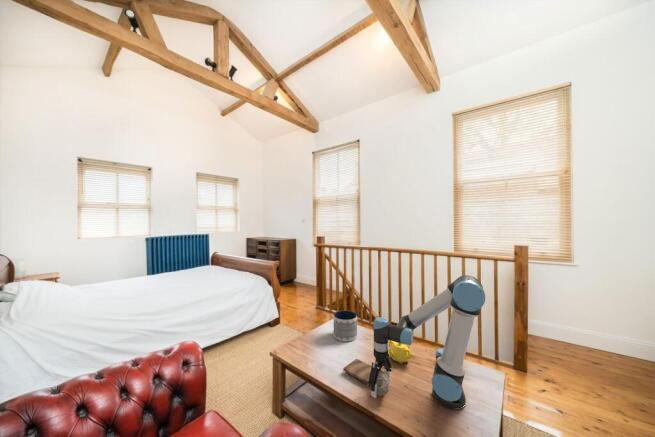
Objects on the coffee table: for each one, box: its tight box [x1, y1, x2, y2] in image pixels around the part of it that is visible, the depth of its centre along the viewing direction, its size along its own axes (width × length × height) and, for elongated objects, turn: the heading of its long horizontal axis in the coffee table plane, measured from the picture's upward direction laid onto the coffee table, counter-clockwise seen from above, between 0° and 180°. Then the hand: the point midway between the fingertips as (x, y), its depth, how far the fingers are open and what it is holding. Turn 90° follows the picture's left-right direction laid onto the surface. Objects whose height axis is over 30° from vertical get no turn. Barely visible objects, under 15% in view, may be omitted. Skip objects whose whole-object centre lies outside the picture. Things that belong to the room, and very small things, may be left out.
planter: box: [333, 310, 358, 343], centre depth 184 cm, size 18×18×16 cm
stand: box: [343, 358, 372, 387], centre depth 138 cm, size 18×13×3 cm
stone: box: [376, 369, 390, 397], centre depth 124 cm, size 9×14×10 cm, turn 158°
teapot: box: [388, 340, 413, 365], centre depth 153 cm, size 20×18×11 cm
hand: (380, 389), depth 124 cm, fingers closed on stone, 13 cm apart
